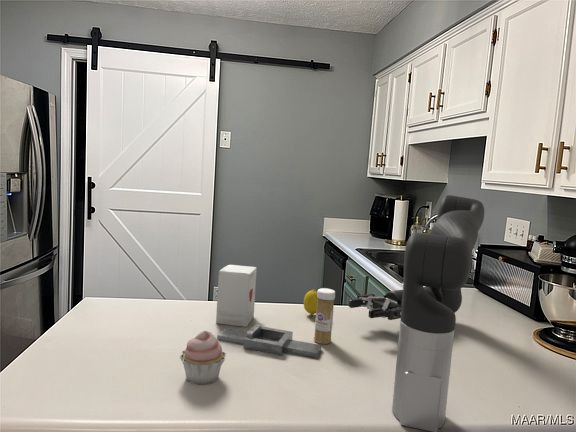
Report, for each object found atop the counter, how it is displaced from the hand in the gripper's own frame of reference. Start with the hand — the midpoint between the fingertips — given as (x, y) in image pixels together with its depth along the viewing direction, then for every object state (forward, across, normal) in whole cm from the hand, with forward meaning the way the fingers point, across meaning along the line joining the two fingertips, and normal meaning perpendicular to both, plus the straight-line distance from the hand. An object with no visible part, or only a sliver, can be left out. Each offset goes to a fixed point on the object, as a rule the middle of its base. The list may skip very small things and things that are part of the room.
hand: (359, 308), depth 112 cm
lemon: (+4, -18, +8) cm, 19 cm away
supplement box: (+27, -21, +8) cm, 35 cm away
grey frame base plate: (+25, -3, +7) cm, 27 cm away
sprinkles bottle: (+11, 0, +8) cm, 14 cm away
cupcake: (+45, +7, +7) cm, 46 cm away
